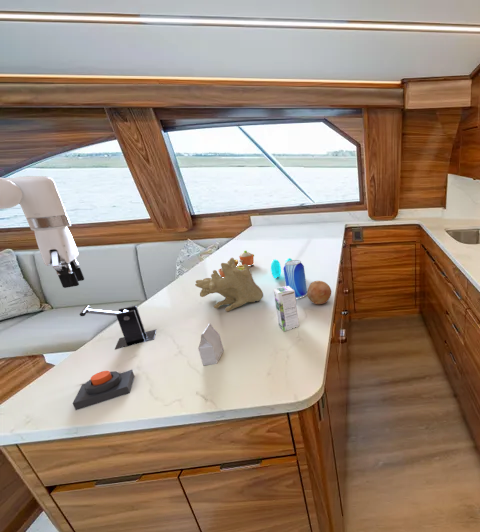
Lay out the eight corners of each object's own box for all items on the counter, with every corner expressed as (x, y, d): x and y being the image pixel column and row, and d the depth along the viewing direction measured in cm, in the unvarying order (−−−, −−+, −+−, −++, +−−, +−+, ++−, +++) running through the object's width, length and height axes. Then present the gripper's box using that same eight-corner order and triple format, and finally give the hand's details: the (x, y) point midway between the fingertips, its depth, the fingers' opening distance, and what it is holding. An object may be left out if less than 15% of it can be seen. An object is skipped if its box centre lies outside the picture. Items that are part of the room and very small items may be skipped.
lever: (78, 318, 88) (80, 310, 88) (84, 310, 93) (86, 303, 93) (131, 322, 96) (133, 315, 95) (134, 315, 100) (136, 308, 100)
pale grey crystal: (223, 350, 94) (216, 322, 91) (217, 363, 88) (209, 333, 85) (210, 352, 93) (203, 324, 90) (203, 365, 87) (194, 335, 84)
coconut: (337, 300, 128) (335, 278, 124) (321, 310, 119) (318, 287, 116) (319, 296, 132) (317, 275, 129) (303, 305, 124) (300, 283, 120)
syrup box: (278, 325, 108) (272, 289, 103) (294, 320, 112) (288, 284, 107) (283, 332, 104) (277, 294, 99) (300, 326, 107) (294, 289, 103)
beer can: (292, 292, 137) (287, 259, 132) (310, 292, 136) (305, 259, 131) (284, 300, 129) (279, 265, 124) (303, 300, 129) (299, 265, 123)
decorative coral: (275, 281, 118) (212, 247, 109) (243, 330, 115) (175, 299, 106) (275, 275, 142) (223, 247, 133) (248, 316, 138) (193, 290, 129)
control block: (75, 410, 71) (69, 397, 70) (85, 391, 78) (79, 378, 77) (129, 393, 77) (124, 380, 75) (134, 376, 83) (130, 364, 82)
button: (91, 387, 74) (88, 381, 73) (94, 379, 77) (92, 374, 76) (110, 382, 76) (108, 376, 75) (113, 374, 78) (111, 368, 78)
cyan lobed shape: (293, 279, 153) (290, 261, 149) (272, 281, 151) (269, 263, 147) (295, 273, 162) (292, 255, 159) (275, 275, 160) (272, 257, 157)
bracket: (115, 352, 94) (102, 319, 91) (120, 340, 101) (108, 309, 97) (155, 341, 100) (144, 310, 96) (157, 331, 106) (147, 301, 102)
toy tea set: (228, 265, 178) (225, 249, 175) (256, 262, 182) (254, 247, 178) (215, 280, 154) (211, 262, 151) (248, 277, 158) (244, 259, 155)
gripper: (42, 220, 87) (66, 278, 93) (15, 229, 74) (44, 296, 79) (78, 217, 91) (98, 273, 97) (58, 225, 77) (83, 289, 83)
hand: (74, 283), depth 88 cm, fingers open, 4 cm apart
